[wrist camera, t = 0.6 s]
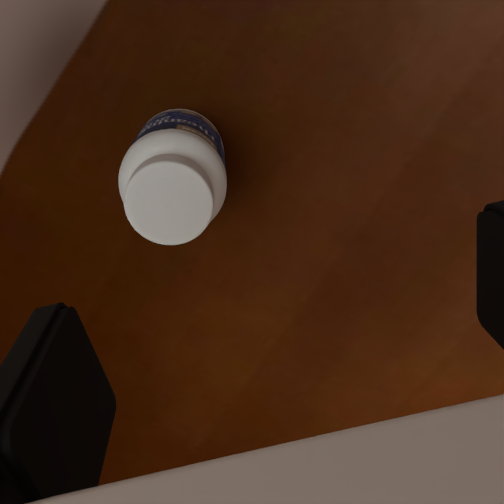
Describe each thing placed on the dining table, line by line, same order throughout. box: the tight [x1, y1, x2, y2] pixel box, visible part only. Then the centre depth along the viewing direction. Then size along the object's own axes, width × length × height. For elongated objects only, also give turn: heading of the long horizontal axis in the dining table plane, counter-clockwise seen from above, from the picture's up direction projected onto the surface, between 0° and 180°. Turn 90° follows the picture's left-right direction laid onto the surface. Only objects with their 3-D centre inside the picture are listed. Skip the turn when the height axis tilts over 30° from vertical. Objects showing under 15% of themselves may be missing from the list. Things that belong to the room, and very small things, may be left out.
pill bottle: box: [119, 109, 227, 245], centre depth 25 cm, size 5×5×10 cm
